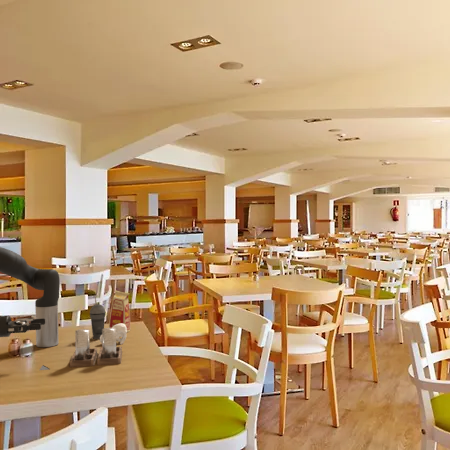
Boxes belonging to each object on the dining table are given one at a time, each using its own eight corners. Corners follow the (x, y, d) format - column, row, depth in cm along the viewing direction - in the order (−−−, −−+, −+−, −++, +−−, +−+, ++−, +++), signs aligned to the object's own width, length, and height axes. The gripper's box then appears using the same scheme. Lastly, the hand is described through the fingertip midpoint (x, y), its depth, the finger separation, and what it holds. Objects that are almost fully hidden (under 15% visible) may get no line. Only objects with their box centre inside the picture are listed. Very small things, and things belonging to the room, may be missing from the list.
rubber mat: (44, 365, 181) (44, 363, 181) (69, 363, 183) (69, 361, 183) (39, 372, 172) (39, 370, 172) (65, 370, 174) (65, 368, 174)
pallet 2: (100, 355, 193) (100, 347, 193) (122, 353, 195) (122, 346, 195) (96, 368, 176) (96, 359, 176) (121, 366, 178) (120, 358, 178)
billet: (100, 361, 181) (99, 329, 181) (112, 358, 185) (111, 327, 185) (106, 363, 178) (105, 331, 178) (118, 361, 181) (118, 329, 181)
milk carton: (108, 333, 235) (107, 291, 235) (115, 328, 244) (115, 289, 244) (126, 333, 233) (125, 291, 233) (133, 329, 242) (132, 289, 242)
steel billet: (73, 362, 180) (73, 330, 179) (86, 360, 183) (85, 328, 183) (79, 365, 176) (78, 332, 176) (92, 363, 179) (91, 330, 179)
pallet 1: (75, 357, 192) (75, 349, 192) (97, 355, 193) (97, 348, 193) (69, 369, 174) (69, 361, 174) (94, 368, 176) (93, 359, 176)
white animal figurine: (126, 324, 211) (98, 328, 208) (129, 343, 212) (100, 348, 208) (125, 321, 217) (97, 326, 214) (127, 340, 218) (100, 345, 214)
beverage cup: (102, 340, 220) (101, 296, 220) (87, 339, 221) (86, 295, 221) (108, 336, 227) (108, 293, 227) (94, 336, 228) (93, 293, 228)
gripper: (-11, 320, 167) (38, 317, 170) (0, 312, 181) (46, 310, 184) (-10, 342, 167) (39, 338, 170) (1, 332, 181) (46, 329, 184)
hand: (43, 323), depth 177 cm, fingers open, 8 cm apart
